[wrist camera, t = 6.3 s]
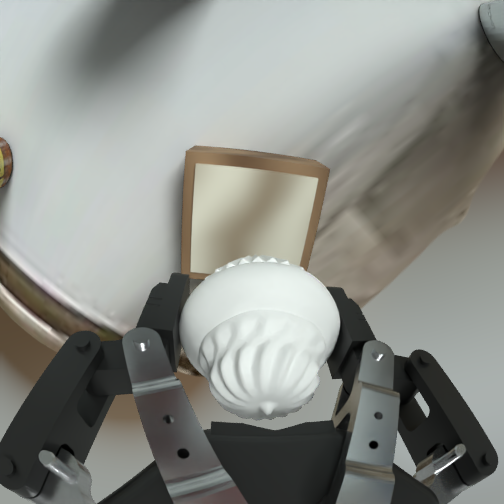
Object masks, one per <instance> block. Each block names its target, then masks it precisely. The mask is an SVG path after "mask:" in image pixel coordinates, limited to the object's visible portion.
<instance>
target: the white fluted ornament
mask: <svg viewBox="0 0 504 504" xmlns="http://www.w3.org/2000/svg"><path fill="white" fill-rule="evenodd" d="M339 331H340V316H339V312H338V308H337V306H336V303H335V301H334V299H333V297H332V296H331V294H330V293H329V291H328V290H327V288H326V287H325V286H324V285H323V284H322V283H321V282H320V281H319V280H318V279H317V278H316V277H314V276H313V275H312V274H310V273H308V272H307V271H305V270H304V268H303V267H300V266H297V265H294V264H290V263H289V261H288V260H284V259H280V258H275V257H271V256H266V255H261V256H257V255H254V256H252V257H251V256H246V257H244V258H239V259H237V260H234V261H232V262H229V263H228V264H227V265H225V266H222V267H220V268H218V269H216V270H215V273H213V274H211V275H209V276H207V277H206V278H205V280H204V281H203V282H202V283H201V284H200V285H198V286H197V287H196V289H195V290H194V291H193V292H192V293H191V295H190V296H189V298H188V299H187V301H186V303H185V305H184V307H183V309H182V312H181V316H180V321H179V335H180V341H181V344H182V347H183V349H184V351H185V353H186V355H187V357H188V359H189V360H190V362H191V363H192V365H193V366H194V367H195V368H196V369H197V370H198V371H199V372H200V373H201V374H202V375H203V376H204V377H206V379H207V380H208V381H209V388H210V391H211V393H212V395H213V396H214V397H215V399H216V400H217V401H218V403H219V404H220V405H221V406H222V407H223V408H224V409H225V410H227V411H229V412H231V413H233V414H236V415H237V416H239V417H241V418H246V419H247V418H252V419H254V420H261V419H264V418H266V419H269V420H272V419H274V418H275V417H285V416H287V415H288V413H293V412H296V411H298V410H299V409H301V408H302V405H305V404H307V403H308V402H309V401H310V400H311V399H312V398H313V395H314V391H315V390H316V389H317V387H318V386H319V384H320V378H319V376H318V371H319V369H320V368H321V367H322V366H323V365H324V364H325V363H326V361H327V360H328V358H329V357H330V355H331V354H332V352H333V350H334V348H335V345H336V343H337V339H338V336H339Z"/></svg>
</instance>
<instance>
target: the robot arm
mask: <svg viewBox="0 0 504 504" xmlns="http://www.w3.org/2000/svg"><path fill="white" fill-rule="evenodd" d="M479 13H480V19H481V23H482V26H483V29H484V31H485V34H486V36H487V38H488V40H489V42H490V44H491V45H492V47H493V49H494V50H495V52H496V53H497V55H498V56H499V57H500V58H501V59H502V60H503V61H504V0H497V1H492V2H487V3H483V4H482V5H481V6H480V9H479ZM326 288H327V290H328V291H329V293H330V294H331V296H332V297H333V299H334V301H335V303H336V306H337V308H338V312H339V316H340V331H339V336H338V339H337V343H336V345H335V348H334V350H333V352H332V354H331V355H330V357H329V358H328V360H327V363H328V366H329V370H330V373H331V376H332V379H342V381H343V383H342V385H341V386H340V389H339V393H338V397H337V400H336V404H335V408H334V411H333V415H332V418H331V420H330V421H320V422H305V423H302V424H299V425H295V426H292V427H288V428H285V429H281V430H270V429H265V428H260V427H256V426H252V425H247V424H244V423H226V422H211V429H207V430H203V429H202V427H201V426H200V423H199V421H198V419H197V417H196V415H195V413H194V411H193V408H192V406H191V404H190V402H189V400H188V397H187V395H186V393H185V391H184V388H183V386H182V384H181V382H180V380H179V379H176V377H175V375H174V372H177V367H178V362H179V357H180V352H181V347H182V344H181V341H180V335H179V321H180V316H181V312H182V309H183V307H184V305H185V303H186V301H187V299H188V298H189V274H180V273H172V275H171V277H170V280H169V282H168V284H167V283H159V284H157V285H156V286H155V287H154V288H153V289H152V290H151V293H150V295H149V298H148V300H147V302H146V305H145V307H144V309H143V311H142V314H141V316H140V319H139V321H138V324H137V326H136V328H134V329H132V330H130V331H128V332H127V333H126V334H125V335H124V337H123V339H121V340H116V341H102V342H101V341H100V338H99V337H98V335H97V334H95V333H93V332H91V331H80V332H77V333H74V334H73V335H71V336H70V337H69V338H68V340H67V341H66V342H65V344H64V345H63V346H62V348H61V349H60V350H59V352H58V353H57V354H56V356H55V357H54V358H53V360H52V361H51V363H50V364H49V365H48V367H47V368H46V370H45V371H44V373H43V374H42V376H41V377H40V379H39V380H38V381H37V383H36V384H35V386H34V387H33V389H32V390H31V392H30V393H29V395H28V397H27V398H26V399H25V401H24V403H23V404H22V406H21V408H20V409H19V411H18V413H17V414H16V416H15V417H14V419H13V421H12V422H11V424H10V426H9V428H8V429H7V431H6V433H5V435H4V437H3V438H2V440H1V442H0V484H2V485H3V486H4V487H6V488H7V489H9V490H11V491H13V492H15V493H16V494H18V495H19V496H21V497H22V498H25V499H27V500H29V501H31V502H33V503H35V504H96V503H95V502H94V500H93V499H92V496H91V491H90V490H91V483H92V479H91V475H90V472H89V471H88V469H87V468H86V467H85V466H84V462H85V460H86V458H87V455H88V453H89V451H90V449H91V446H92V444H93V442H94V440H95V437H96V435H97V433H98V431H99V429H100V427H101V425H102V422H103V420H104V418H105V416H106V414H107V412H108V410H109V408H110V406H111V404H112V402H113V400H114V398H115V396H116V395H120V394H133V395H134V398H135V402H136V405H137V409H138V412H139V415H140V419H141V422H142V425H143V428H144V431H145V433H146V437H147V439H148V442H149V445H150V448H151V450H152V453H153V456H154V458H155V461H153V462H152V463H151V464H150V465H148V466H147V467H146V468H145V469H143V470H142V471H141V472H140V473H138V474H137V475H136V476H134V477H133V478H132V479H131V480H129V481H128V482H127V483H125V484H124V485H123V486H121V487H120V488H119V489H117V490H116V491H114V492H113V493H112V494H110V495H109V496H107V497H106V498H104V499H103V500H102V501H100V502H99V503H97V504H447V503H448V502H450V501H451V500H452V499H454V498H455V497H456V496H458V495H459V494H460V493H461V492H462V491H464V490H466V489H468V488H469V487H471V486H473V485H475V484H476V483H478V482H480V481H481V480H483V479H484V478H486V477H488V476H489V475H491V474H492V473H493V472H494V471H495V470H496V468H497V465H498V456H497V453H496V451H495V449H494V447H493V446H492V444H491V442H490V440H489V439H488V437H487V435H486V434H485V432H484V430H483V429H482V427H481V425H480V424H479V422H478V421H477V419H476V417H475V416H474V414H473V413H472V411H471V410H470V408H469V407H468V405H467V404H466V402H465V401H464V399H463V398H462V396H461V395H460V393H459V392H458V390H457V389H456V387H455V386H454V385H453V383H452V382H451V380H450V379H449V377H448V376H447V375H446V373H445V372H444V371H443V369H442V368H441V366H440V365H439V364H438V362H437V361H436V360H435V358H434V357H433V356H432V355H431V354H430V353H428V352H426V351H424V350H415V351H413V352H412V353H411V355H410V356H409V358H407V357H402V356H397V355H394V353H393V351H392V349H391V348H390V347H389V346H388V345H387V344H385V343H383V342H381V341H377V340H376V338H375V336H374V334H373V332H372V330H371V328H370V326H369V324H368V323H367V321H366V319H365V317H364V315H362V311H361V309H360V307H359V306H358V305H357V304H356V303H355V302H354V301H353V300H352V299H348V298H347V296H346V294H345V292H344V290H343V289H342V288H340V287H326ZM418 392H420V393H421V395H422V396H423V398H424V400H425V401H426V403H427V405H428V406H429V409H430V413H429V416H428V417H427V418H426V416H425V414H424V412H423V411H422V409H421V407H420V406H419V404H418V402H417V401H416V399H415V398H414V396H415V395H416V394H417V393H418ZM397 430H398V432H399V433H400V435H401V437H402V439H403V441H404V443H405V445H406V447H407V449H408V451H409V453H410V455H411V457H412V459H413V461H414V463H415V465H416V467H417V468H416V473H415V474H414V476H413V477H412V476H411V475H409V474H408V473H407V472H405V471H404V470H402V469H401V468H400V467H398V466H397V465H396V464H394V463H393V460H394V453H395V446H396V438H397Z"/></svg>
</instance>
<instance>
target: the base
mask: <svg viewBox="0 0 504 504" xmlns="http://www.w3.org/2000/svg"><path fill="white" fill-rule="evenodd" d="M329 172H330V169H329V168H327V167H326V166H324V165H322V164H321V163H319V162H317V161H316V160H310V159H305V158H299V157H293V156H286V155H279V154H272V153H265V152H257V151H249V150H240V149H230V148H220V147H207V146H194V147H192V148H190V149H189V150H187V151H186V156H185V170H184V186H183V207H182V241H181V274H189V278H192V279H201V280H205V278H206V277H207V276H209V275H211V274H213V273H215V270H216V269H218V268H220V267H222V266H225V265H227V264H228V263H229V262H232V261H234V260H237V259H239V258H244V257H246V256H251V257H252V256H254V255H257V256H261V255H266V256H271V257H275V258H280V259H284V260H288V261H289V263H290V264H294V265H297V266H300V267H303V268H304V270H305V271H307V268H308V264H309V260H310V256H311V252H312V248H313V244H314V240H315V236H316V232H317V227H318V223H319V219H320V214H321V210H322V205H323V201H324V196H325V191H326V186H327V182H328V177H329Z"/></svg>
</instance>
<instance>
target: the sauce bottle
mask: <svg viewBox="0 0 504 504" xmlns="http://www.w3.org/2000/svg"><path fill="white" fill-rule="evenodd" d="M11 171H12V153H11V150H10V147H9V144H8V143H7V142H6V140H4V139H3V138H1V137H0V188H1V187H3V186H4V185H5V184H6V182H7V181H8V179H9V177H10V174H11Z"/></svg>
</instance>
